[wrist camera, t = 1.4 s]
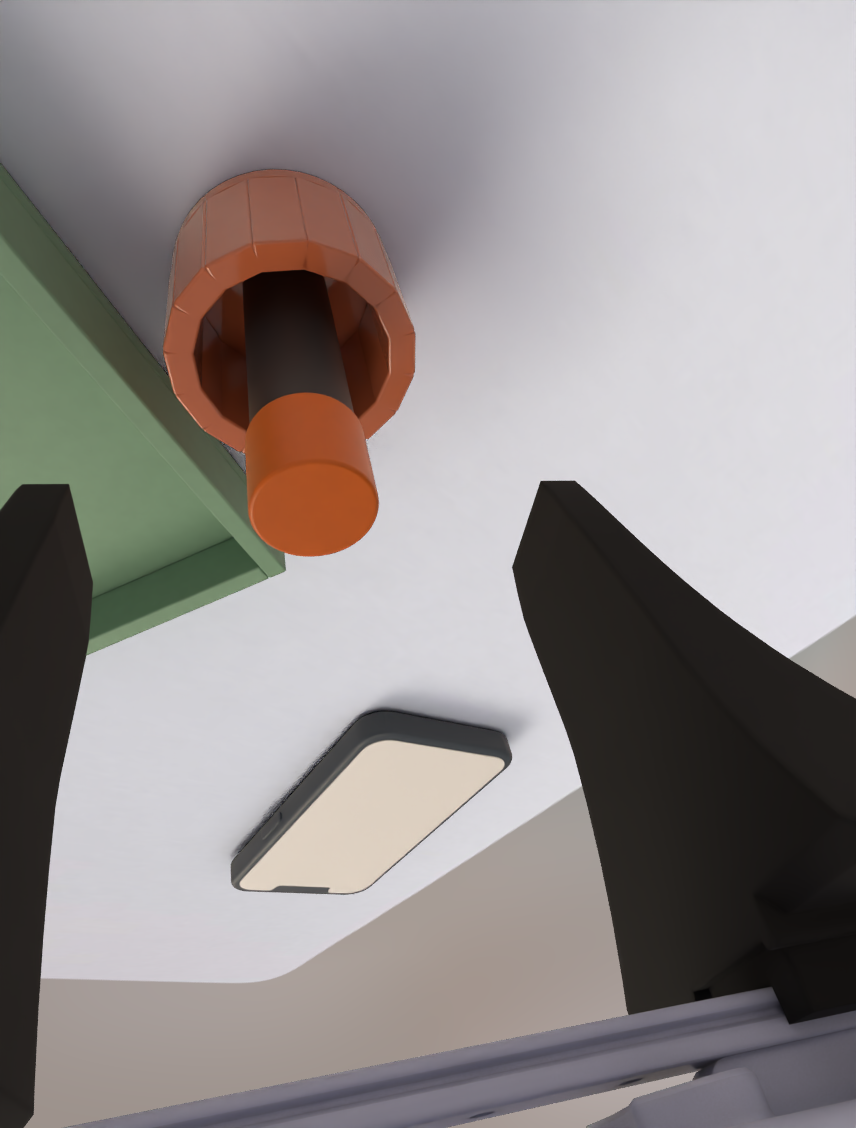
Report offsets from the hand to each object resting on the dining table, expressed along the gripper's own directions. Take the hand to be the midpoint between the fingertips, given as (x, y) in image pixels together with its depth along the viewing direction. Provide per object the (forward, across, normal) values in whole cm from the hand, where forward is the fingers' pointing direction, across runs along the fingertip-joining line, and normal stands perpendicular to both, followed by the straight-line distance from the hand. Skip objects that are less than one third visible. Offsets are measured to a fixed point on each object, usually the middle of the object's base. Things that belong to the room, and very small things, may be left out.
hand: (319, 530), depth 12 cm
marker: (+9, 0, 0) cm, 9 cm away
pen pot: (+9, 0, 0) cm, 9 cm away
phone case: (+9, -4, +28) cm, 30 cm away
